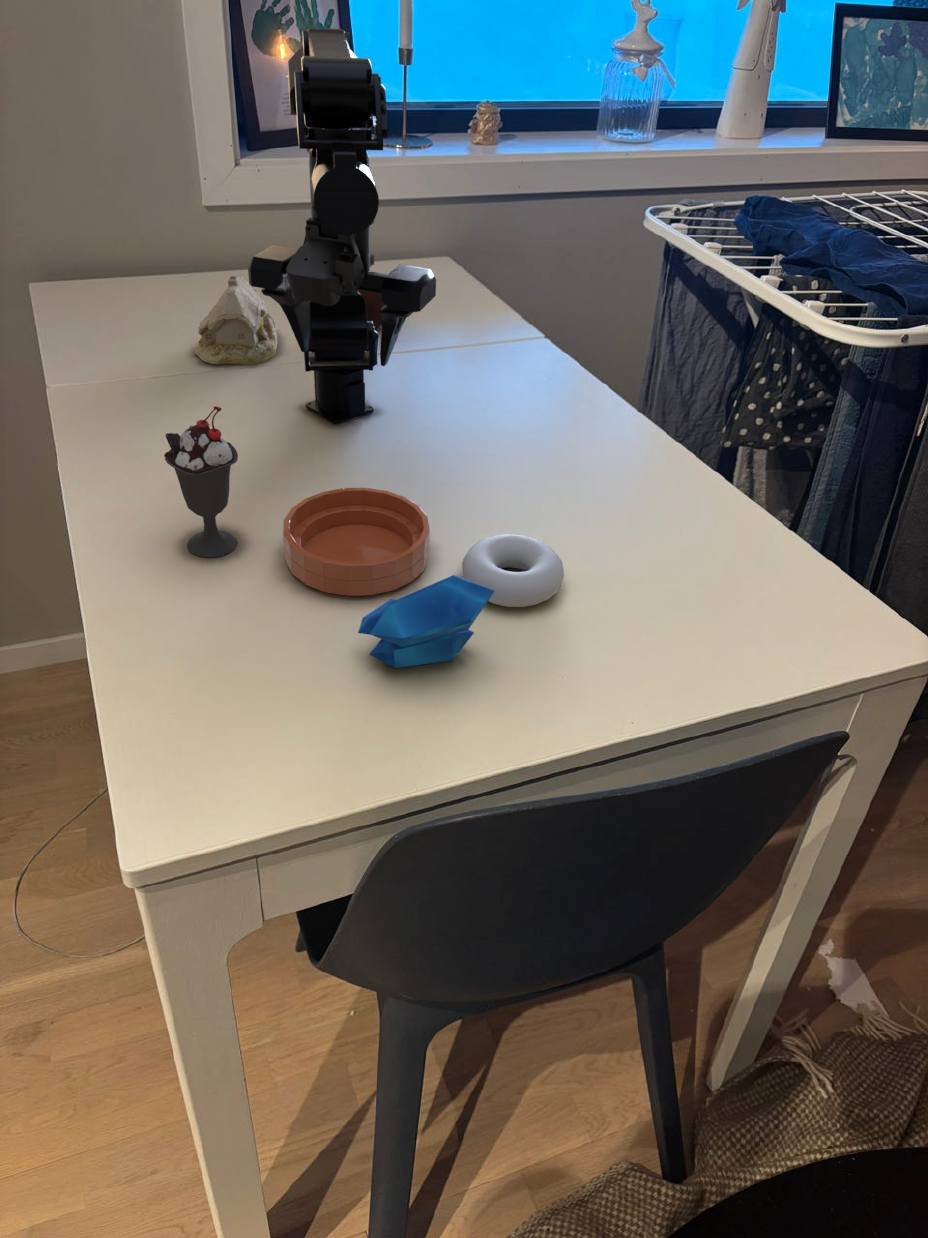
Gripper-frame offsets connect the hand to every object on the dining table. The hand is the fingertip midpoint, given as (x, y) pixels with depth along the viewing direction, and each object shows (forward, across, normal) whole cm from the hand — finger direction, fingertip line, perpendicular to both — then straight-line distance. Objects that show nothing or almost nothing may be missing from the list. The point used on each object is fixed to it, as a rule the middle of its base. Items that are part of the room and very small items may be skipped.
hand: (344, 357), depth 101 cm
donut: (+13, +24, -16) cm, 32 cm away
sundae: (+13, -6, -20) cm, 25 cm away
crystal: (+13, +20, -30) cm, 38 cm away
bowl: (+13, +8, -18) cm, 23 cm away
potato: (+13, -14, +42) cm, 47 cm away
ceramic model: (+13, -28, +26) cm, 40 cm away
